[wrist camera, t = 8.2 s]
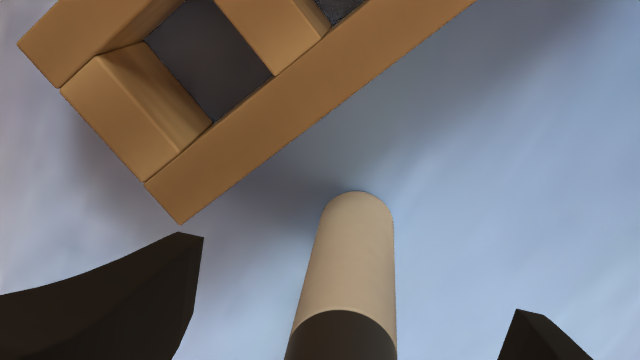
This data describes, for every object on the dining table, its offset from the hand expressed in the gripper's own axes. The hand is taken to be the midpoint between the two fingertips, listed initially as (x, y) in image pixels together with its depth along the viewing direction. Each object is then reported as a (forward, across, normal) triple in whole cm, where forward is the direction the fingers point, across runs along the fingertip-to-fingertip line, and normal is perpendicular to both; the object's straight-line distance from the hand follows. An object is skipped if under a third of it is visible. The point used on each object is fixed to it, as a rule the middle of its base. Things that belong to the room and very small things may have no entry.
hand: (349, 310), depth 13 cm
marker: (+5, 0, 0) cm, 5 cm away
